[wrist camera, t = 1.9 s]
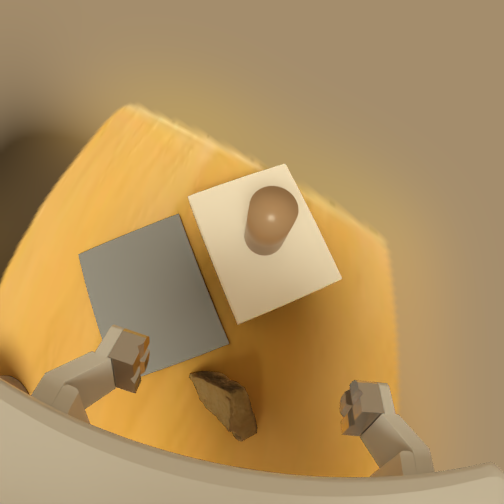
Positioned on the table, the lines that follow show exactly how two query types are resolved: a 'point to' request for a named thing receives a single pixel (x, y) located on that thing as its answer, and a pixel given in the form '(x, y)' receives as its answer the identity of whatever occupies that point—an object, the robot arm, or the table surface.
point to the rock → (226, 402)
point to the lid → (262, 242)
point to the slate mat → (154, 292)
